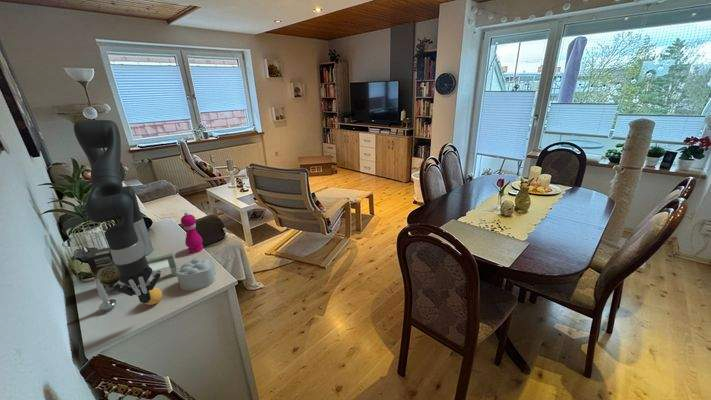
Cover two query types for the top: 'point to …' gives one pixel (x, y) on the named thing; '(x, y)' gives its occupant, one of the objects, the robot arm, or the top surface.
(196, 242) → the pepper mill
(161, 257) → the bridge
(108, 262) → the coffee box
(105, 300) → the screw
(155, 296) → the ball
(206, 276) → the lumpy-topped squat cylinder
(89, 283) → the top surface
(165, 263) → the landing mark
